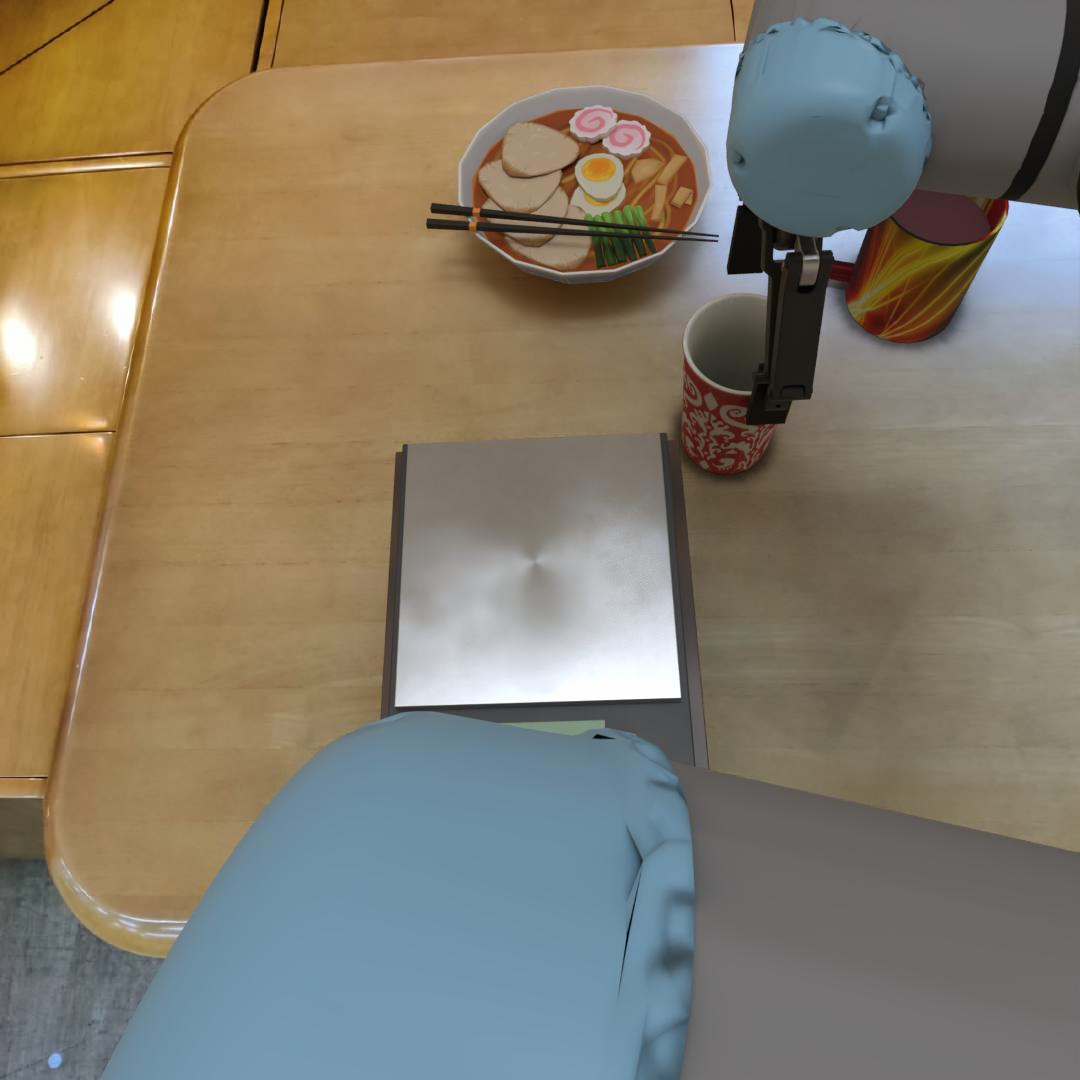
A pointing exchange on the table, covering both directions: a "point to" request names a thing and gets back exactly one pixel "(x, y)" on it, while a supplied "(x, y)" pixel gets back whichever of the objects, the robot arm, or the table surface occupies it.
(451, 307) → the table surface
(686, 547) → the riser
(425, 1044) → the robot arm
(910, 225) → the mug
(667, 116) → the ramen bowl
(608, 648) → the kitchen scale
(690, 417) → the mug
